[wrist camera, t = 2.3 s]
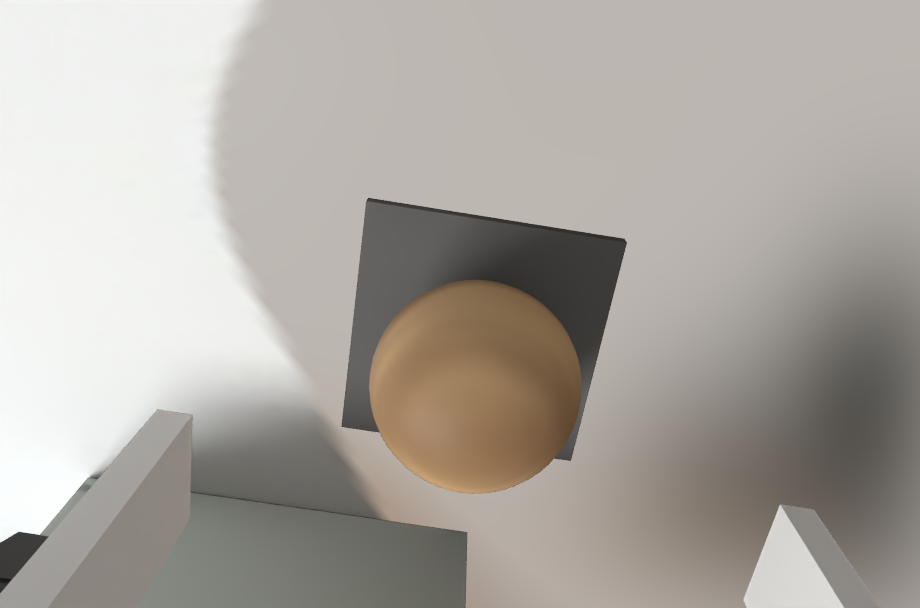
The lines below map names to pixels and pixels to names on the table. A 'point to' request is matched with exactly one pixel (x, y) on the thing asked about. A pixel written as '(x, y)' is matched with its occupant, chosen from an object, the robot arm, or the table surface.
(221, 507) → the grey boxy piece
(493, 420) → the bead
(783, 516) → the robot arm
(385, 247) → the mat
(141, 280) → the table surface
